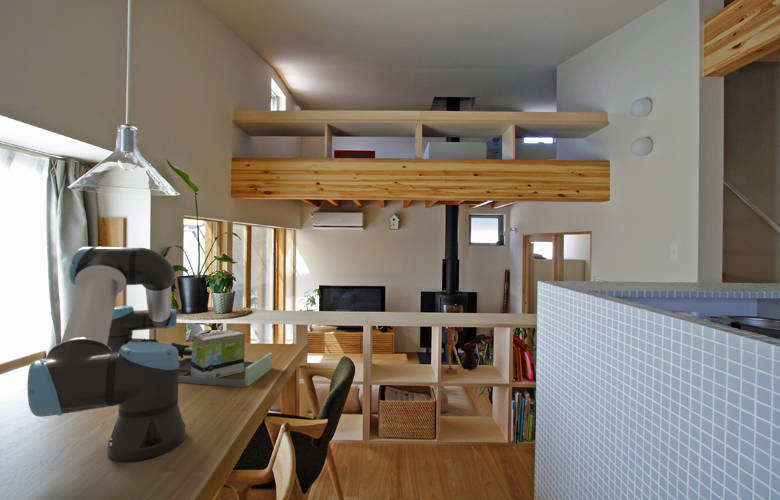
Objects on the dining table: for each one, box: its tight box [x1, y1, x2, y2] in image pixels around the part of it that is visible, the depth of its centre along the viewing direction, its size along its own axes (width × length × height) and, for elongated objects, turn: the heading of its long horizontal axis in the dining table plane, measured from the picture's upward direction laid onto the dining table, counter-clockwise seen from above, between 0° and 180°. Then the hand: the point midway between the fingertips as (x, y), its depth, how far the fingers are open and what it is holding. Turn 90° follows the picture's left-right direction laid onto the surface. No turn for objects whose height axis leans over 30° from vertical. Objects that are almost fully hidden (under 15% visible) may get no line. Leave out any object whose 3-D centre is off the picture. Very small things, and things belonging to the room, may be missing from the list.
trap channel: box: [178, 356, 257, 388], centre depth 131 cm, size 20×35×2 cm, turn 84°
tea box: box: [190, 329, 246, 378], centre depth 130 cm, size 15×10×15 cm, turn 143°
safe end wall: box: [244, 352, 273, 387], centre depth 129 cm, size 18×1×6 cm, turn 174°
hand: (202, 352), depth 131 cm, fingers closed
